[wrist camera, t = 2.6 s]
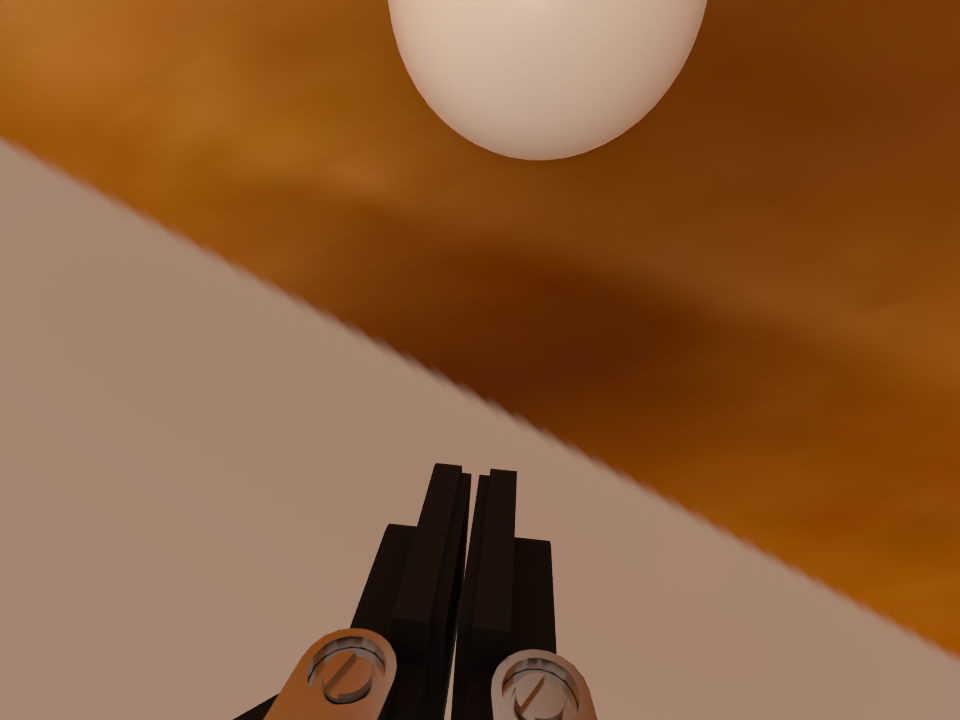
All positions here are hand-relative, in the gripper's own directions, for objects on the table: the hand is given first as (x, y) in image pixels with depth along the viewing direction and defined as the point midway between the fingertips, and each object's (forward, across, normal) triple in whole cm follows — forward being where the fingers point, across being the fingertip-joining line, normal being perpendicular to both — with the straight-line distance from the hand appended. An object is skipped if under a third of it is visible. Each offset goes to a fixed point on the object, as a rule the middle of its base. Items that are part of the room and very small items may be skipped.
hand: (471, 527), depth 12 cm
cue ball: (+2, 0, -10) cm, 10 cm away
